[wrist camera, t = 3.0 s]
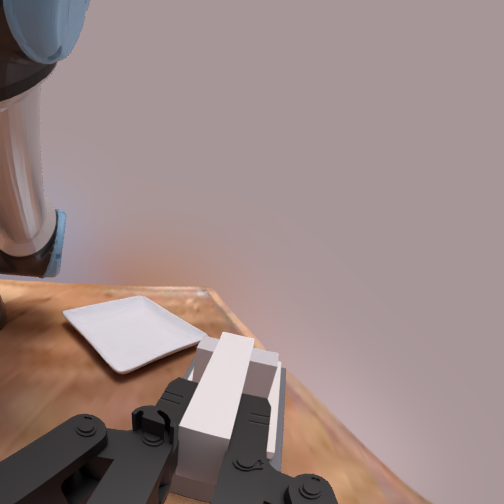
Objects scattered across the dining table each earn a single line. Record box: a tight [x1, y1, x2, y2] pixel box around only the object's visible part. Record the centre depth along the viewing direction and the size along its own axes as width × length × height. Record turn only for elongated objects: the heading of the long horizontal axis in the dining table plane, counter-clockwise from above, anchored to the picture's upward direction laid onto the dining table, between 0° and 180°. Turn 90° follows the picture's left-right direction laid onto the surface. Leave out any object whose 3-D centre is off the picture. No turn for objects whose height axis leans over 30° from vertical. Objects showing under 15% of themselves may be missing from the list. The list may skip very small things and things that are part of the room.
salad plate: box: [62, 296, 208, 374], centre depth 53 cm, size 21×21×3 cm
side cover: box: [188, 336, 281, 459], centre depth 30 cm, size 16×10×10 cm, turn 173°
